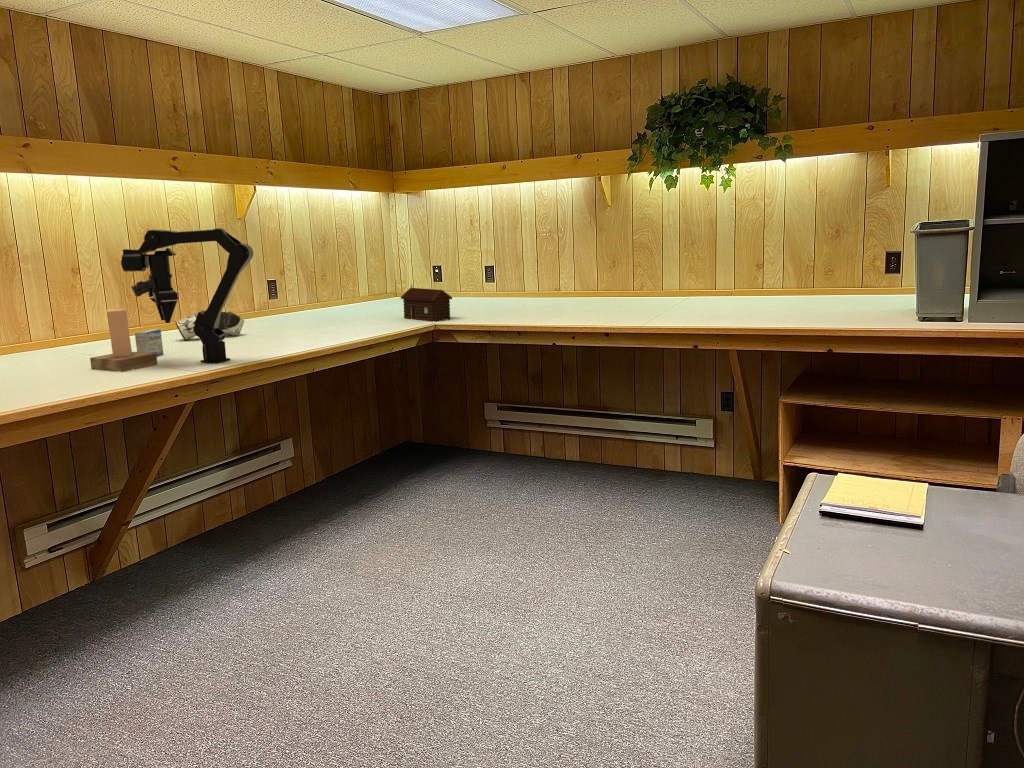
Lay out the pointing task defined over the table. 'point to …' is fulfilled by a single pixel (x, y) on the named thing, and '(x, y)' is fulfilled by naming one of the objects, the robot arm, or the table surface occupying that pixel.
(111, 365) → the walnut block
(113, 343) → the terracotta block
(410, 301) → the model building
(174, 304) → the robot arm
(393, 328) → the table surface
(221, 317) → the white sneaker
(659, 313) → the table surface
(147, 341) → the medicine box
